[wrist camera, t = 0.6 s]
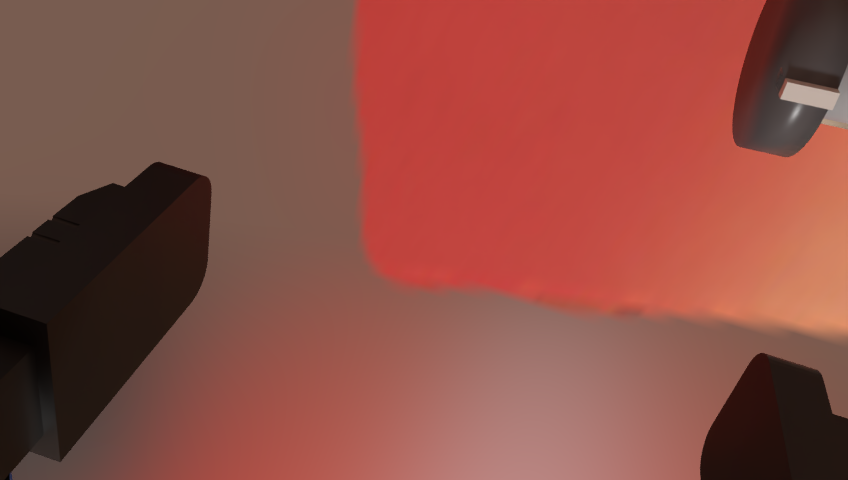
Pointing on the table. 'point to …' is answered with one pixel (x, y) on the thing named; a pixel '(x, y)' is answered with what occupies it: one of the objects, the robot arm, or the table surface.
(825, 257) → the table surface
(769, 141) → the knob
